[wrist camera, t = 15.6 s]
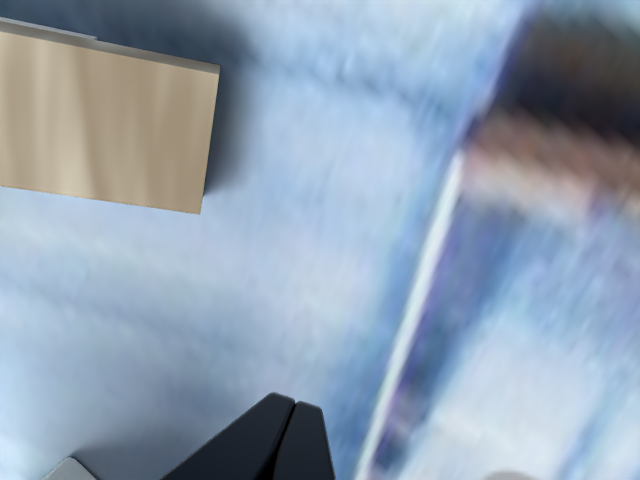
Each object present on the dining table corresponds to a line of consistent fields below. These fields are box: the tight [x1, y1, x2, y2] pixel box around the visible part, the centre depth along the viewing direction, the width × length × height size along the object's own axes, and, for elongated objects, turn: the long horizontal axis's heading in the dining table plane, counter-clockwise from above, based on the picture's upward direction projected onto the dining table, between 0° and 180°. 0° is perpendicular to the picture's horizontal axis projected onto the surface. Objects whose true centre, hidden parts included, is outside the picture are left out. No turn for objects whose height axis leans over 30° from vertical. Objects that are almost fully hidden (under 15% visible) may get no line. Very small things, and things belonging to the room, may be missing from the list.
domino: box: [0, 21, 221, 214], centre depth 18 cm, size 2×5×8 cm
